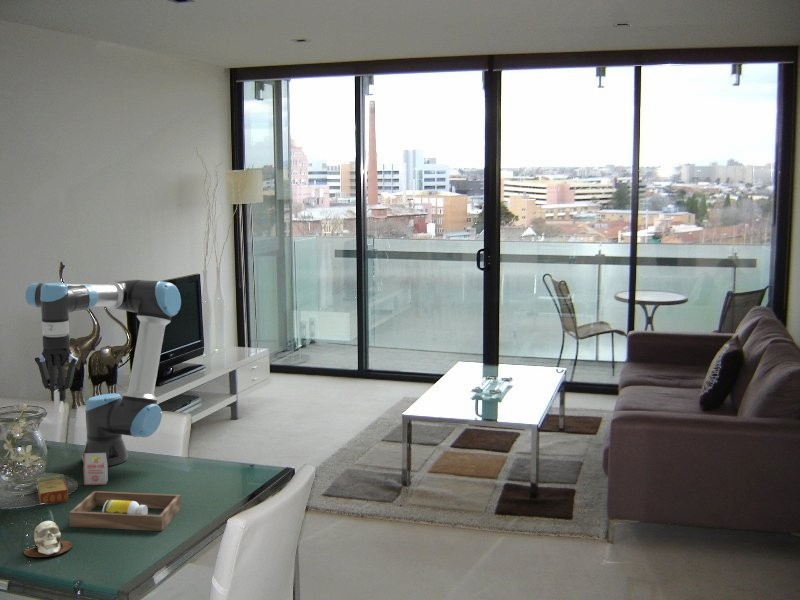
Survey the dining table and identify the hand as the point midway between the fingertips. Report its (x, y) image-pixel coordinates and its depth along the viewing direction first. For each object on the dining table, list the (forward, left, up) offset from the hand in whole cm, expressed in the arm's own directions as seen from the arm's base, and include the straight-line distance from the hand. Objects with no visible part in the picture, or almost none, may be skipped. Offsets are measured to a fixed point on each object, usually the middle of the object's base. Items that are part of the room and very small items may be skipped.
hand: (59, 411), depth 264 cm
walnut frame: (+11, +24, -28) cm, 39 cm away
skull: (+34, +12, -29) cm, 46 cm away
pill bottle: (+14, +19, -25) cm, 35 cm away
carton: (-4, -5, -29) cm, 30 cm away
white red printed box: (-16, +4, -29) cm, 33 cm away
